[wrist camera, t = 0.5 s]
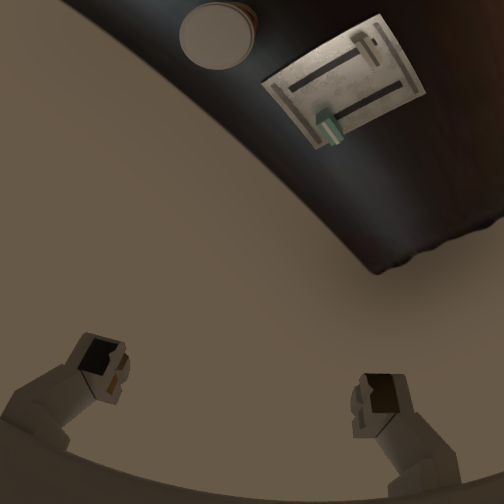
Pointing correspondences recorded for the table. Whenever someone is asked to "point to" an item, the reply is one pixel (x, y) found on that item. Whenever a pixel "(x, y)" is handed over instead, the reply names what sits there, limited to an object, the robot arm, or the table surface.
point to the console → (345, 81)
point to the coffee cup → (219, 34)
